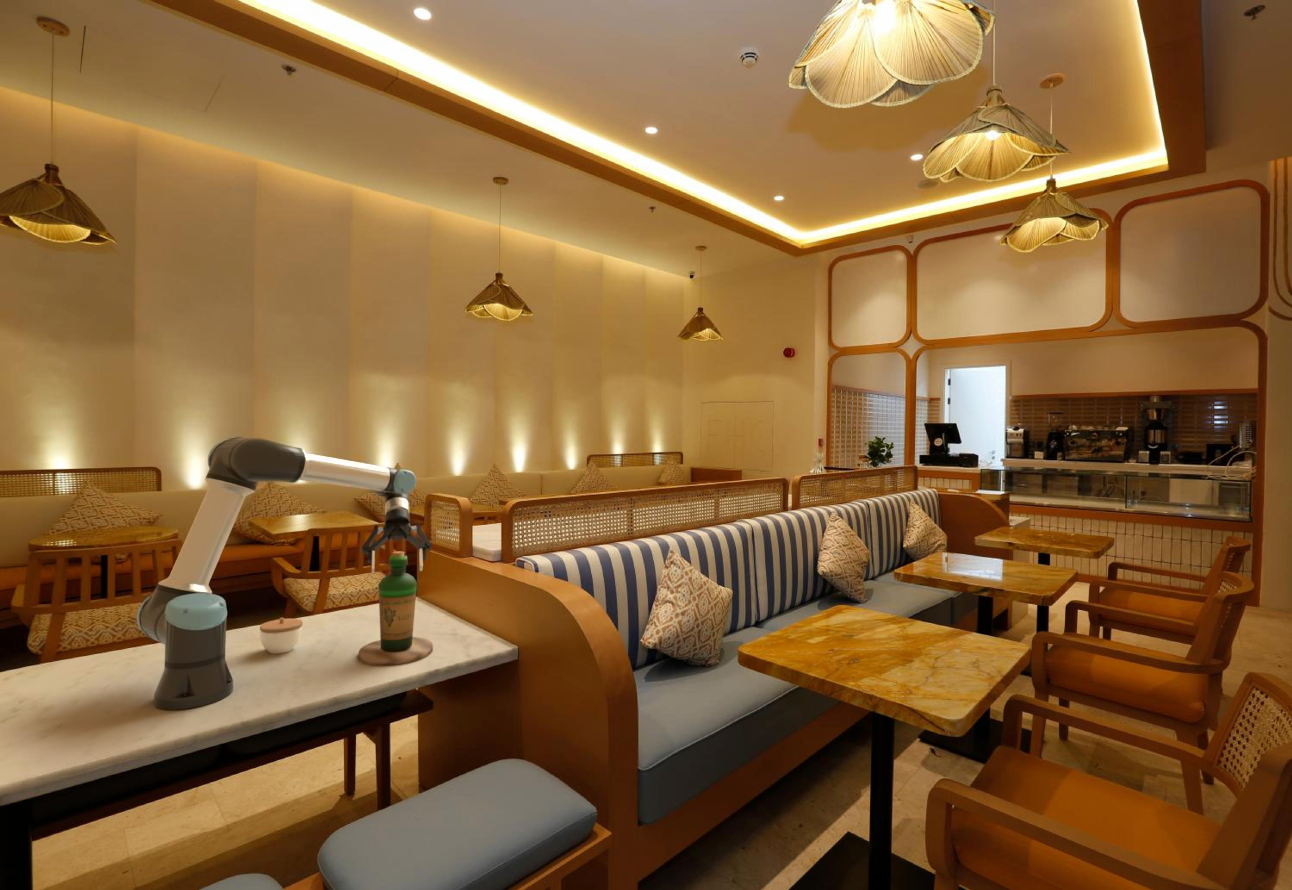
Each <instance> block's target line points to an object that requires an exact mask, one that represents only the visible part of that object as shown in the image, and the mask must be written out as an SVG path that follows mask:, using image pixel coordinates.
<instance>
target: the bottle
mask: <svg viewBox="0 0 1292 890" xmlns="http://www.w3.org/2000/svg"><path fill="white" fill-rule="evenodd" d="M408 565H409V562H408V556H407V555H405V551H399V550H398V551H397V550H396V551H393V552H392V555H391V556H390V557H389V559H388V566H390V574H387V575H385V576H384V577H383V578H382V579H381V580H380V581H379V583H378V606H379V629H380V630H379V635H380V636H379V638H380V640H381V649H382V650H385V651H387V652H397V651H403V650H406V649H408V648H409V647H411V646H412V637H414V635H413V634H414V626H415V625H414V622H415V611H416V599H417V597H416V596H417V586H418V583H417V582H418V581H417V580H416V579H415V577H414V576H413V575H411V574H409V573H407V571H406V570H407V566H408Z"/></svg>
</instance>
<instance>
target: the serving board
mask: <svg viewBox="0 0 1292 890" xmlns="http://www.w3.org/2000/svg"><path fill="white" fill-rule="evenodd" d="M433 645H434V644H433V642H432V641H431V640H429V639H427V638H422V637H417V636H416V637H415V636H413V637H412V646H411V647H409V648H408V649H406V650H403V651H397V652H387V651H385V650H382V649H381V639H380V640H375V641H372V642H370V643H367V644H365V645H363V646H362V647H361V648H360V649H359V650H358V659H359V661H360V662H362V663H364V664H367V665H371V666H384V667H385V666H397V665H404V664H410V663H414V662H417V661H420V660H422V659H425V658H426V657H429V656H430V655H431V654H432V653H433V650H434V646H433Z"/></svg>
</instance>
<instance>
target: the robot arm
mask: <svg viewBox="0 0 1292 890" xmlns="http://www.w3.org/2000/svg"><path fill="white" fill-rule="evenodd" d="M207 466H208V468H209V469H208V471H207V473H206V477H205V479H204V480H205V482H206V483H207V486H208V489H207V491H206V492H205V496H204V498H203V499H202V502H201V504H200V507H199V509H198V511H197V513H196V515H195V517H194V520H193V523H192V524H191V526H190V529H189V531H188V533H187V535H186V538H185V541H184V542H183V544H182V547H181V548H180V551H179V554H178V556H177V558H176V560H175V563H174V564H173V567H172V570H171V572H170V574H169V576H168V577H167V578H165V579H163V580H161V581H158V583H157V585H156V588H155V589H154V592H153V594H151V595H150V596H147V597H146V598H145V599H144V600H143V601H142V603H141V604H140V606H139V608H138V609H137V614H136V623H137V627H138V628H139V629H140V630H141V632H143V635H145V636H146V637H147V638H149V639H151V640H153V641H156V642H158V643H160V644H162V645H164V669H163V671H162V674H161V677H160V680H159V681H158V685H157V686H156V689H155V691H154V694H153V695H154V696H153V705H154V707H156V708H157V709H161V710H170V711H171V710H172V711H173V710H174V711H175V710H185V709H192V708H198V707H201V706H205V705H210V704H212V703H215V702H217V701H220V700H222V699H224V698H226V697H228V696H229V695H231V694H232V693H233V691H234V679H233V676H232V673H231V671H230V668H229V666H228V663H227V660H226V646H227V645H226V643H227V616H228V610H227V609H228V608H227V603H226V600H225V599H224V598H223V597H222V596H220V595H217V594H214V593H213V591H212V589H211V587H210V585H209V584H210V581H211V579H212V576H213V574H214V572H215V569H216V567H217V565H218V562H219V560H220V559H221V555H222V552H223V550H224V548H225V546H226V544H227V541H228V539H229V536H230V534H231V532H232V530H233V527H234V524H235V522H236V520H237V518H238V516H239V513H240V510H241V508H242V506H243V504H244V502H245V499H246V497H247V496H250V495H251V494H253V493H255V491H256V490H257V487H258V484H259V483H262V482H263V483H264V482H268V483H271V482H273V483H275V482H276V483H277V482H279V483H281V482H283V483H291V484H295V483H297V482H299V481H305V482H311V483H320V484H328V485H335V486H340V487H341V486H342V487H350V488H356V489H363V490H368V491H369V492H372V493H374V494H375V495H377V496H379V497H381V498H383V499H384V526H379V525H378V524H374V526H373V530H372V532H371V534H370V535H369V537H368V538H367V539H366V541H365V542H364V544H363V545H362V546H361V555H367V563H368V564H371V574H374V575H375V566H376V565H375V564H376V556H375V555H376V552H377V551H378V550H379V549H380V548H381V547H383V545H384V544H385V543H387V542H389V541H390V540H392V541H395V540H396V541H397V540H399V541H403V539H404V540H405V541H407V542H409V543H410V544H411V545H413V546H414V547H415V548H416V549H417V550H418V553H419V555H418V558H419V560H418V561H419V562H418V563H419V571H420V572H422V571H423V567H424V562H425V561H426V560H427V552H430V551H432V548H433V544H432V543H431V541H430V540H429V538H428V537H427V536H426V534H425V533H424V531H423V530H422V528H421V524H420V523H416V524H415V525H411V522H410V521H411V517H410V513H411V512H410V493H411V492H412V491H414V490H415V488H416V486H417V477H416V474H414V472H413V471H411V470H408V469H403V468H393V467H388V466H383V465H377V464H372V463H369V462H368V461H365V462H360V461H359V462H358V461H353V460H348V459H343V458H337V457H331V456H325V455H320V454H316V453H315V454H314V453H309V452H306V451H305V450H304V449H303V448H301V447H296V446H292V445H288V444H283V443H280V442H278V441H277V442H276V441H274V440H270V439H266V438H261V437H243V436H235V437H234V436H233V437H229V438H226V439H223V440H221V441H219V442H218V443H216V444H215V445H213V447H212V448H211V449H210V451H209V453H208V456H207ZM382 532H383V535H382V536H380V537H379V538H378V539H377V537H378V535H379V534H381V533H382ZM412 532H414V533H415V534H416V536H417V537H418V538H417V537H416V536H414V535H413V534H412ZM376 539H377V540H376ZM375 540H376V541H375Z"/></svg>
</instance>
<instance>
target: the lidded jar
mask: <svg viewBox="0 0 1292 890" xmlns="http://www.w3.org/2000/svg"><path fill="white" fill-rule="evenodd" d="M259 630H260V633H259V634H260V635H259V636H260V637H259V638H260V641H261V644H262V646H263V648H264V649H266V650H267V651H268V653H269V654H283V653H288V652H290V651H293V649H294V648H295V647H296V646H297V645H298V644H299V641H300V640H301V638H302V637H301V636H302V632H303V620H302V619H299V618H284V617H280V618H279V619H275V620H274V619H273V620H269V621H266V622H264V623H261V625H260V626H259Z"/></svg>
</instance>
